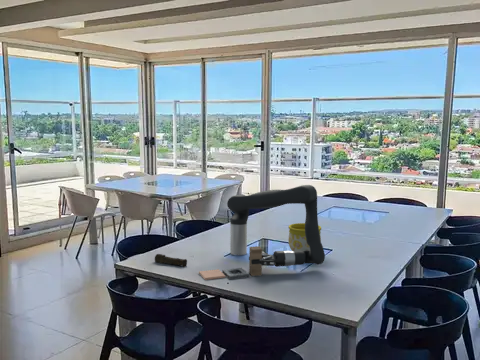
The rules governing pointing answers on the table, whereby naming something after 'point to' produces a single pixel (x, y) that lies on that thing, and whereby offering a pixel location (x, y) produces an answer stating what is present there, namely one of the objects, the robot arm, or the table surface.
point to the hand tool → (170, 260)
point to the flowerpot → (298, 237)
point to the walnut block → (255, 254)
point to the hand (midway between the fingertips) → (250, 260)
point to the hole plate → (234, 276)
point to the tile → (211, 274)
